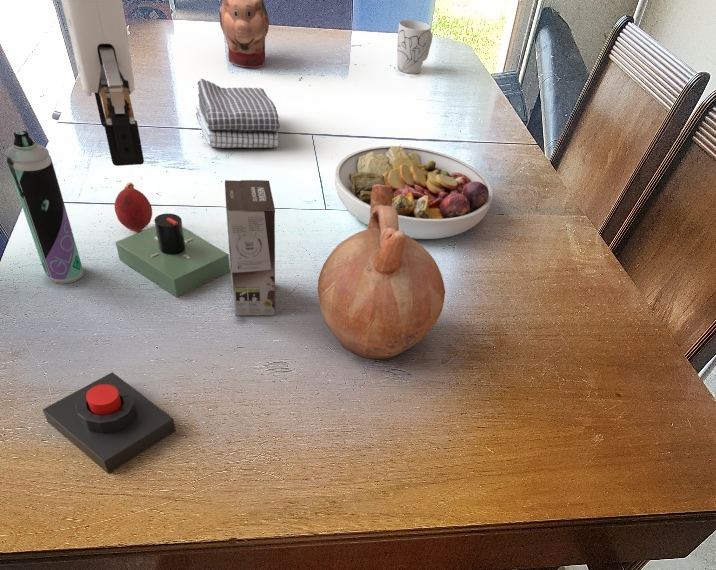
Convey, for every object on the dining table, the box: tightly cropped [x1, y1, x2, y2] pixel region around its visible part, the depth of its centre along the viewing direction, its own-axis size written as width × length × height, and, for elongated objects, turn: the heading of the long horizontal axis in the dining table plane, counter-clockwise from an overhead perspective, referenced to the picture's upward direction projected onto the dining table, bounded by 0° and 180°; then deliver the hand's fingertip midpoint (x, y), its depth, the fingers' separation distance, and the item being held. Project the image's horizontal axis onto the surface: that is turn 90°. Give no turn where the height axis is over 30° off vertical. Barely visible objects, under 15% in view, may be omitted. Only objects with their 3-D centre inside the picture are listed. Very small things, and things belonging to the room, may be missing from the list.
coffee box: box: [224, 179, 276, 316], centre depth 88 cm, size 9×6×16 cm
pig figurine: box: [219, 0, 270, 68], centre depth 152 cm, size 20×12×14 cm, turn 10°
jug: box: [317, 184, 446, 360], centre depth 84 cm, size 18×18×20 cm
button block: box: [42, 371, 177, 475], centre depth 74 cm, size 12×10×4 cm
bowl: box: [334, 145, 493, 240], centre depth 115 cm, size 30×30×8 cm
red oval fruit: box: [113, 181, 153, 233], centre depth 100 cm, size 6×6×8 cm
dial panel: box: [115, 225, 231, 298], centre depth 96 cm, size 14×11×3 cm
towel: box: [195, 78, 280, 149], centre depth 127 cm, size 15×18×8 cm
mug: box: [396, 19, 433, 75], centre depth 163 cm, size 11×8×10 cm
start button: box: [86, 384, 121, 416], centre depth 72 cm, size 4×4×2 cm
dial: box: [153, 212, 185, 254], centre depth 93 cm, size 4×4×5 cm
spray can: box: [4, 130, 84, 285], centre depth 86 cm, size 6×6×20 cm
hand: (122, 144), depth 67 cm, fingers open, 9 cm apart
